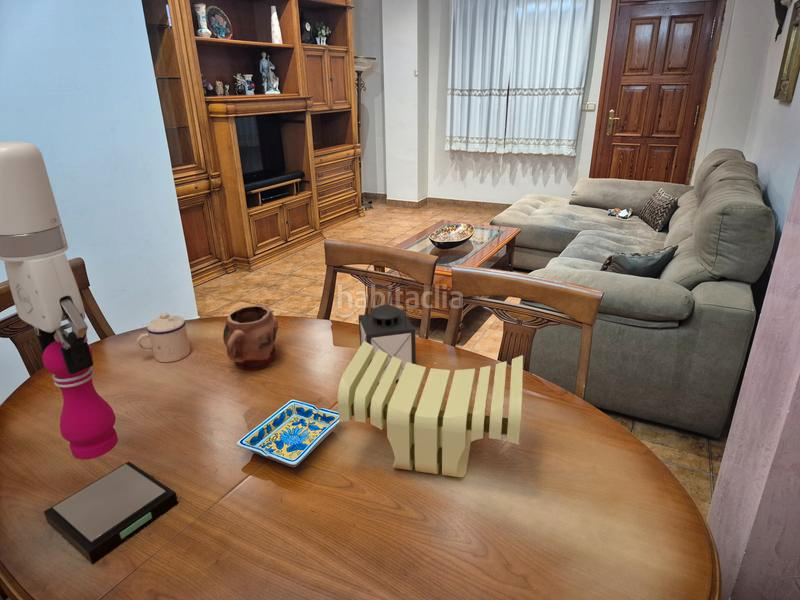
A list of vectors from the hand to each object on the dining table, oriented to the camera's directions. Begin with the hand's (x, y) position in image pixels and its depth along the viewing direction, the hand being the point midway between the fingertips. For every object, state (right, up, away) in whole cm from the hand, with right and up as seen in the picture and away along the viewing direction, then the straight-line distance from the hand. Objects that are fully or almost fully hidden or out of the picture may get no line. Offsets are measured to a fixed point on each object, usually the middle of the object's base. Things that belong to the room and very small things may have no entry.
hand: (69, 362), depth 73 cm
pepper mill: (0, -14, +6) cm, 15 cm away
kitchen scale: (+1, -26, +10) cm, 28 cm away
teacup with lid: (-13, -6, +59) cm, 61 cm away
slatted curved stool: (+54, -20, +22) cm, 61 cm away
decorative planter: (+11, -7, +54) cm, 55 cm away
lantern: (+44, -9, +49) cm, 67 cm away
